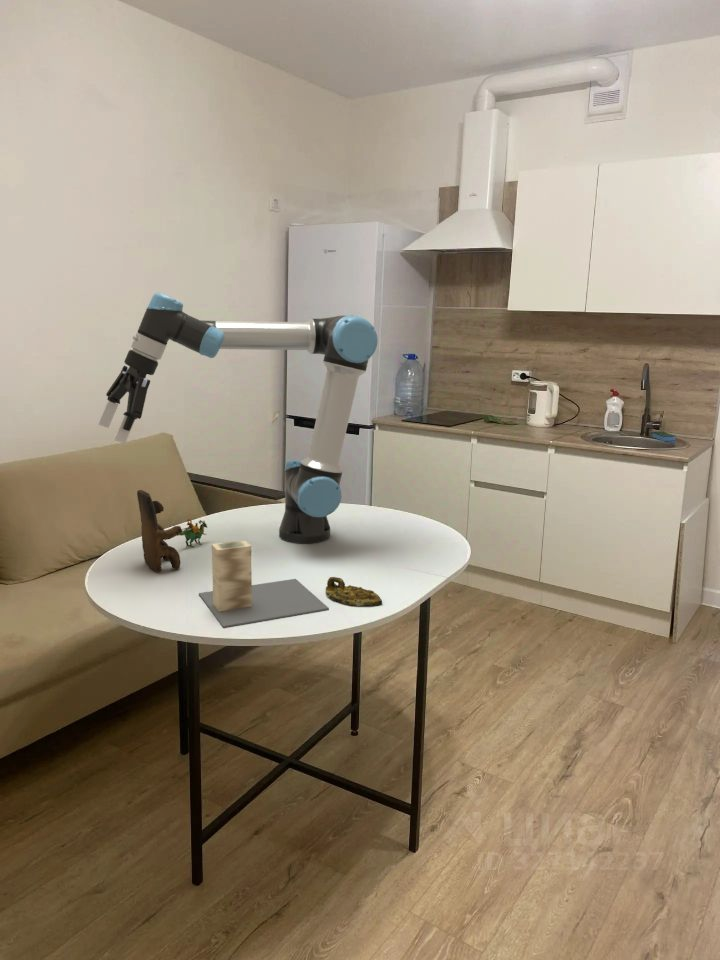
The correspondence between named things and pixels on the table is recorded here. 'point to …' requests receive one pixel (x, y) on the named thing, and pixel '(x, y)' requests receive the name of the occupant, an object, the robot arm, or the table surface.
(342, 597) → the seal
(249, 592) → the beech block
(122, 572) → the table surface
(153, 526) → the figurine
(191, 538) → the figurine
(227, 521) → the table surface
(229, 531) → the table surface
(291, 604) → the rubber mat
